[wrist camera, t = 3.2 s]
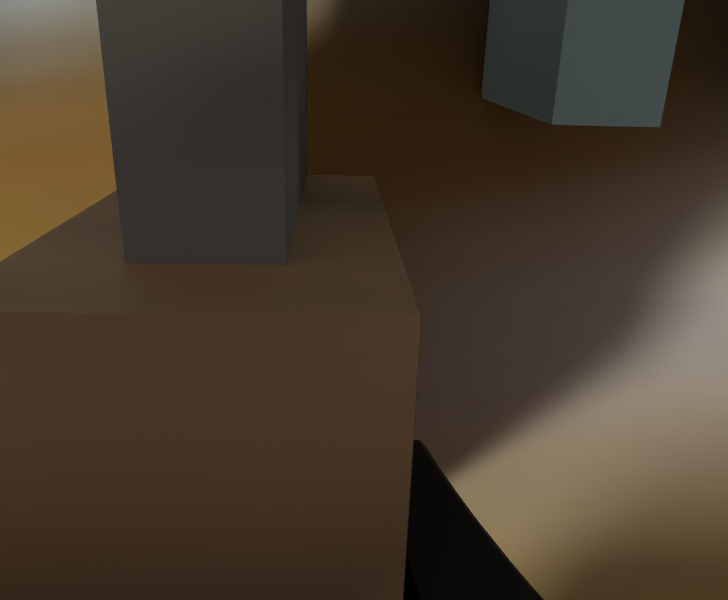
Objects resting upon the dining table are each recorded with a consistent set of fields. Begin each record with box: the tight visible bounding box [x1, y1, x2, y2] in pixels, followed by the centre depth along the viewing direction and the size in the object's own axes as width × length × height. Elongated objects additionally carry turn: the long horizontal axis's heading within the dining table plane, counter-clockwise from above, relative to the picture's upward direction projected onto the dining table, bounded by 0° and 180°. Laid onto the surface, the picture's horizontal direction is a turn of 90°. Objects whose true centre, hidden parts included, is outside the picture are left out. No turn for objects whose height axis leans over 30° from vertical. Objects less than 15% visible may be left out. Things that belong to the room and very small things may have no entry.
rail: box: [0, 0, 421, 600], centre depth 7 cm, size 12×3×5 cm, turn 178°
